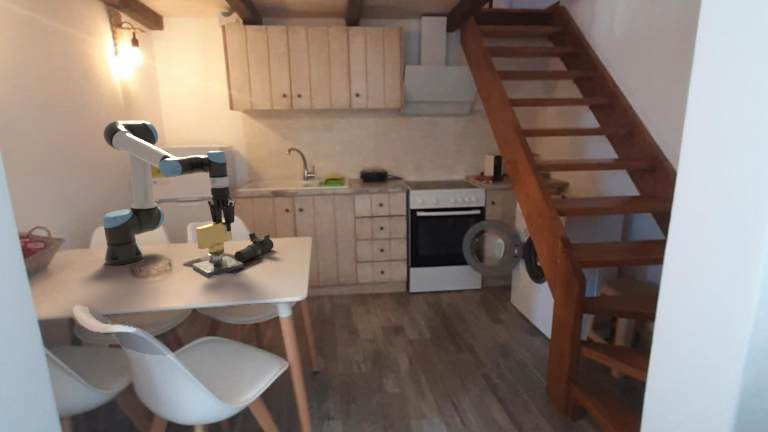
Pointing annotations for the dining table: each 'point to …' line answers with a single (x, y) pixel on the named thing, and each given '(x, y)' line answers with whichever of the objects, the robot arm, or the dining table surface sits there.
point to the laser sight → (254, 248)
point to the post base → (217, 265)
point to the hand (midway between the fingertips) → (225, 237)
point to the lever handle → (213, 237)
